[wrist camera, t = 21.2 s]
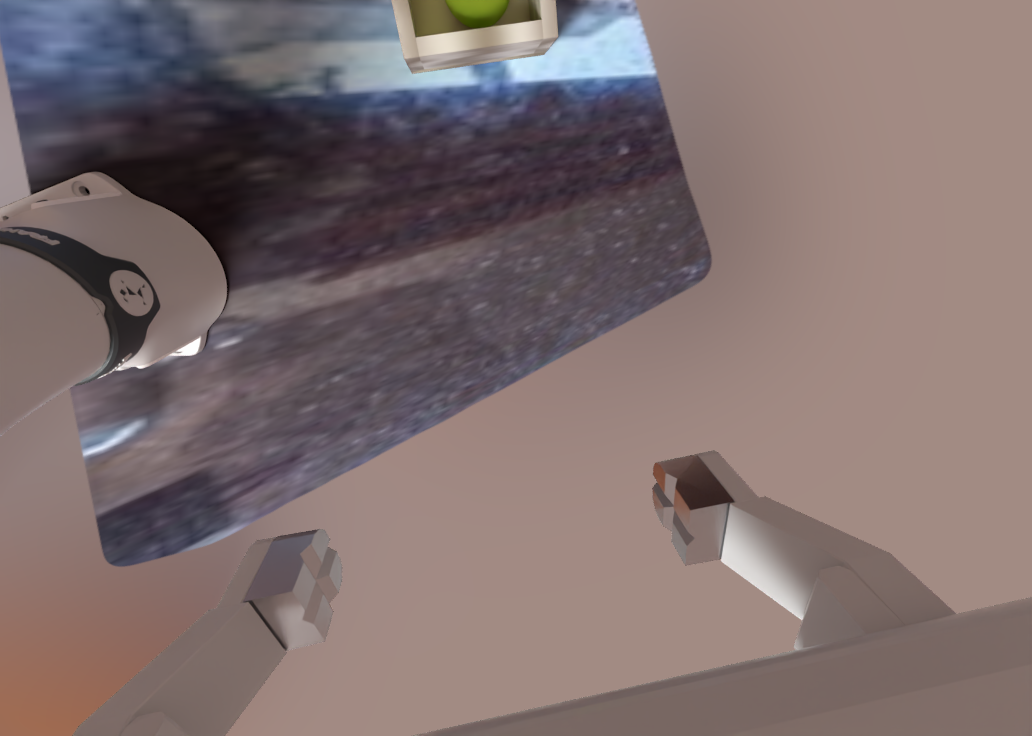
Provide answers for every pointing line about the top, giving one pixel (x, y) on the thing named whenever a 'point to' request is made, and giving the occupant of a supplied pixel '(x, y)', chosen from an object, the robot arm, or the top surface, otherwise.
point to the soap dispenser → (477, 11)
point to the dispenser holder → (472, 34)
